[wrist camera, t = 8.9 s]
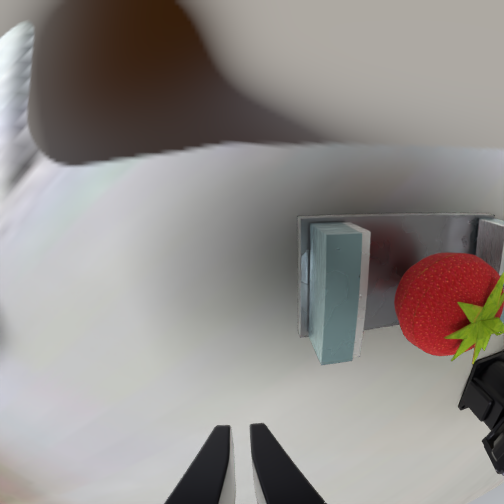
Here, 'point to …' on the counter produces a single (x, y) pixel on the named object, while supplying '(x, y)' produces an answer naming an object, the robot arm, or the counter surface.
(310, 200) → the counter surface
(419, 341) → the strawberry
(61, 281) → the counter surface
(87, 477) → the counter surface
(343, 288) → the block
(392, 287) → the vise
